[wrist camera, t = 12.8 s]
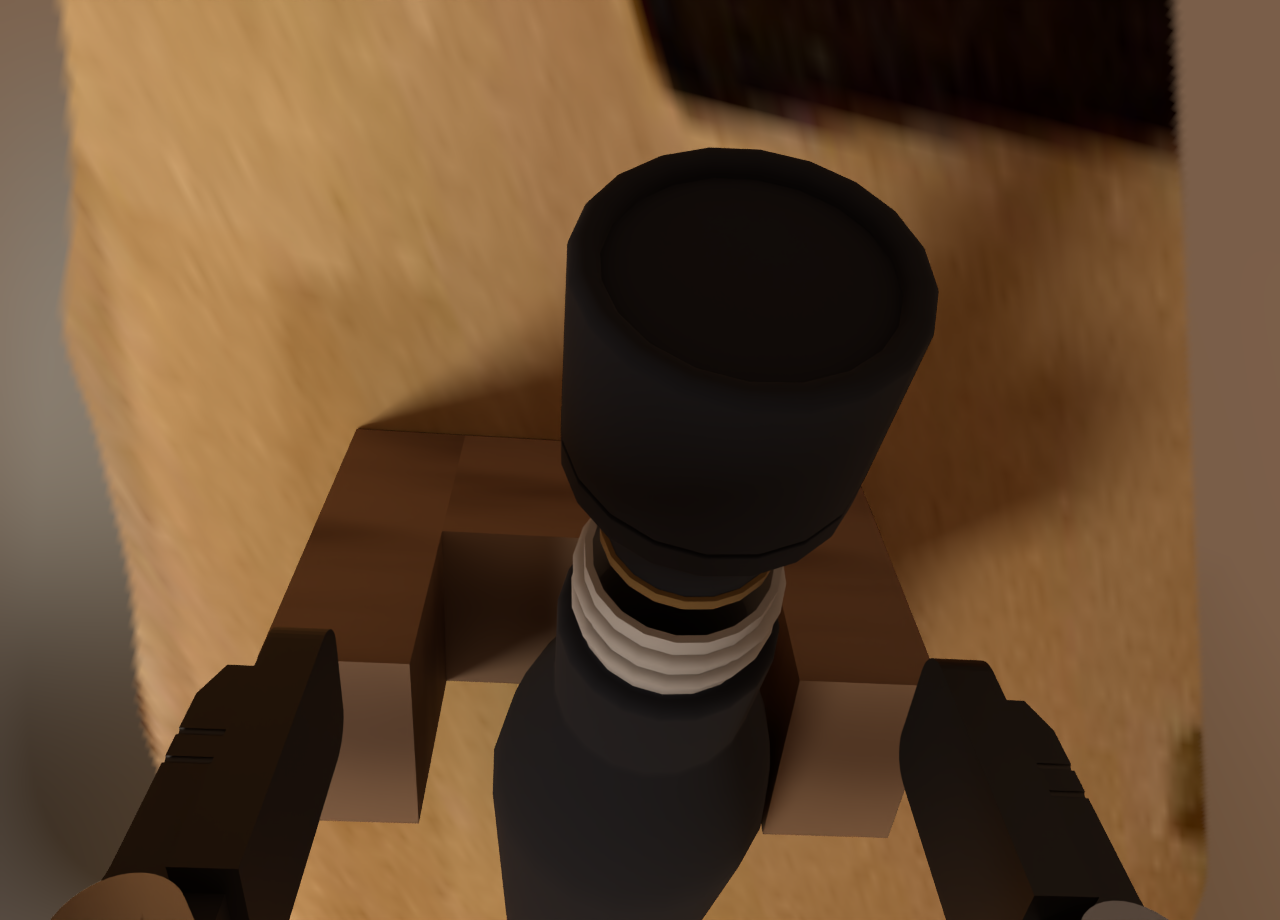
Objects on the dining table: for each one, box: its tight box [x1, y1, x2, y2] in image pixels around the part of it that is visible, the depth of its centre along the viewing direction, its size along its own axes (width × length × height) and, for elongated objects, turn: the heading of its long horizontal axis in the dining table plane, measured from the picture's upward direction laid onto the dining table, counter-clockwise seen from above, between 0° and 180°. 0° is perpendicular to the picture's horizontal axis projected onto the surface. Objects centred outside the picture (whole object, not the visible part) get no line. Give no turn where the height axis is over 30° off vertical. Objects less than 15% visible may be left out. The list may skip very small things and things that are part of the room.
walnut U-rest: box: [257, 429, 930, 838], centre depth 25 cm, size 5×14×9 cm, turn 85°
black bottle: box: [493, 148, 938, 920], centre depth 22 cm, size 6×6×30 cm
